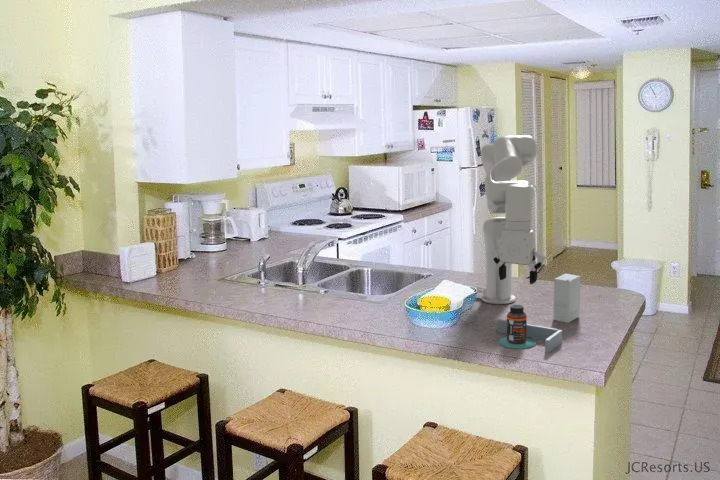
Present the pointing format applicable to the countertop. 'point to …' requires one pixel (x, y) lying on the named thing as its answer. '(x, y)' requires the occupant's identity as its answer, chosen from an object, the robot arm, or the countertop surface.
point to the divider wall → (537, 334)
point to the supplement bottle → (516, 325)
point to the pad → (527, 344)
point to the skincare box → (566, 297)
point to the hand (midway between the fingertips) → (517, 281)
